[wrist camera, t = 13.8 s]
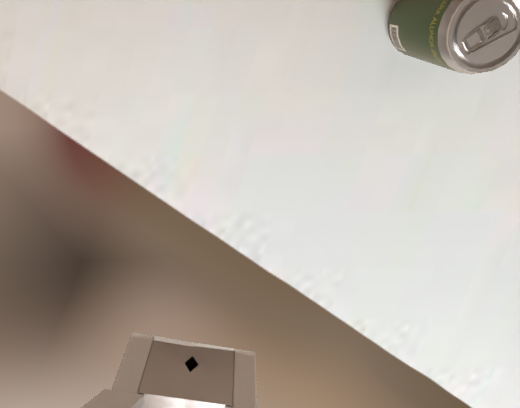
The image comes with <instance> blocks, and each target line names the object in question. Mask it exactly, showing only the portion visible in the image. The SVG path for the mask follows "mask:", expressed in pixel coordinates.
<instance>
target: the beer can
mask: <svg viewBox="0 0 520 408" xmlns="http://www.w3.org/2000/svg"><path fill="white" fill-rule="evenodd" d="M388 27H389V36H390V39H391V42H392V44H393V45H394V46H395V47H396V49H397V50H398V51H400V52H402V53H404V54H405V55H408V56H411V57H414V58H417V59H420V60H423V61H426V62H429V63H432V64H435V65H438V66H441V67H444V68H447V69H450V70H453V71H457V72H460V73H467V74H475V73H482V72H488V71H492V70H495V69H497V68H499V67H501V66H503V65H504V64H506V63H507V62H508V61H509V60H510V59H511V58H513V57H514V56H515V55H516V53H517V52H518V51H519V49H520V0H399V1H398V2H397V3H396V5H395V7H394V8H393V10H392V12H391V15H390V19H389V23H388Z"/></svg>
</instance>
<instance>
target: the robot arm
mask: <svg viewBox="0 0 520 408" xmlns="http://www.w3.org/2000/svg"><path fill="white" fill-rule="evenodd" d="M255 356H256V355H255V353H254V352H252V351H245V350H239V349H232V348H225V347H218V346H212V345H205V344H199V343H190V342H185V341H179V340H174V339H168V338H163V337H158V336H155V337H154V336H150V335H144V334H139V333H133V334H132V336H131V337H130V340H129V342H128V345H127V348H126V351H125V354H124V356H123V359H122V362H121V365H120V367H119V370H118V373H117V376H116V379H115V381H114V384H113V387H112V390H107V389H104V390H103V391H102V392H100V393H99V394H98V395H97V396H95V397H94V398H93V399H92V400H90V401H89V402H88V403H86V404H85V405H84V406H83V407H81V408H256V357H255Z"/></svg>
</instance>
